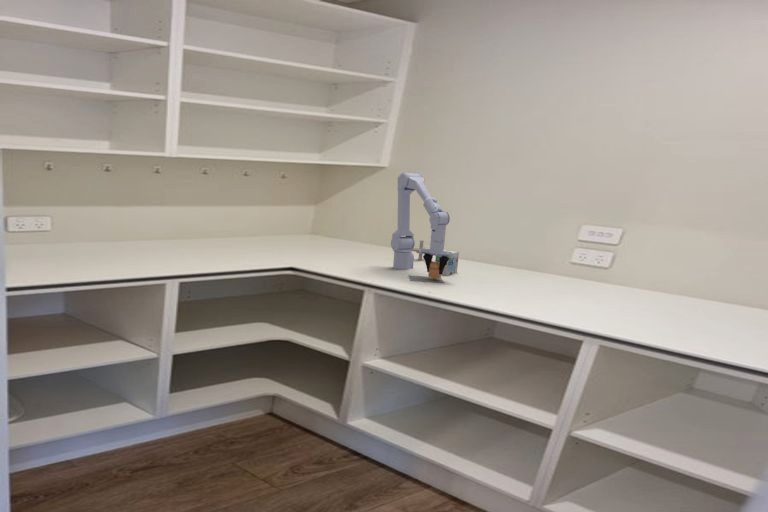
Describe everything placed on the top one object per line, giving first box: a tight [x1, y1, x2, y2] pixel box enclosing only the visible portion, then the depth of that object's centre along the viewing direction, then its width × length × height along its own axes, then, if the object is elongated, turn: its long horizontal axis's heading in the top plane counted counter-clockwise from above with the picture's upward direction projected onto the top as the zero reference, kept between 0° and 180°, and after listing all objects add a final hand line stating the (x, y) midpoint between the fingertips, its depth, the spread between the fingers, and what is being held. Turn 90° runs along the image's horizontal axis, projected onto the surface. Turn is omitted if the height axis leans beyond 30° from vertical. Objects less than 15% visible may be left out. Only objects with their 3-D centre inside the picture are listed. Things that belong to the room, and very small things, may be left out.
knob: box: [427, 260, 442, 278], centre depth 218 cm, size 5×5×6 cm
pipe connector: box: [412, 240, 427, 261], centre depth 264 cm, size 10×10×10 cm
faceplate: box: [408, 274, 445, 284], centre depth 218 cm, size 14×10×4 cm
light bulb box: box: [434, 249, 460, 277], centre depth 233 cm, size 11×7×11 cm, turn 148°
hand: (434, 272), depth 218 cm, fingers closed on knob, 5 cm apart
